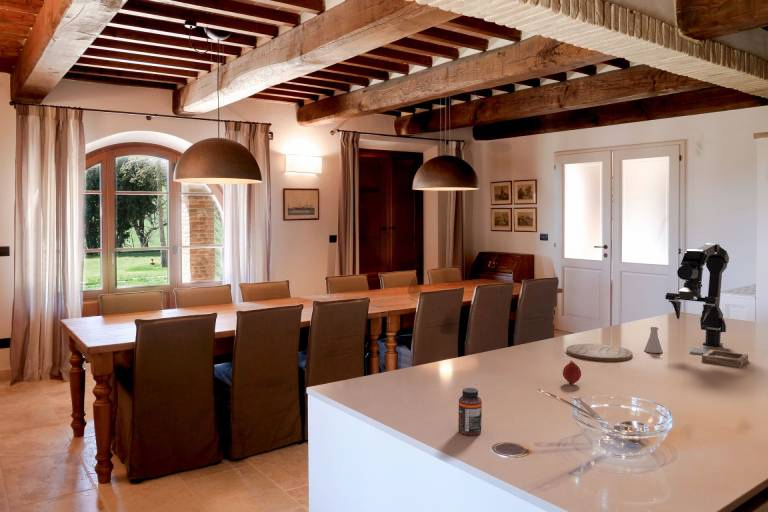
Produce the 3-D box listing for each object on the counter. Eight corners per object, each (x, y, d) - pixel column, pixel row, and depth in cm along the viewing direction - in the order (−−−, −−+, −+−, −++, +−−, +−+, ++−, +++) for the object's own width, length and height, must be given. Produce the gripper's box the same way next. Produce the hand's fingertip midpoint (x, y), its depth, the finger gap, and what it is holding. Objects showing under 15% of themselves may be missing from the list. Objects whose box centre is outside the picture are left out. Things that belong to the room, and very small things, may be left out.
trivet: (562, 359, 244) (563, 354, 244) (569, 346, 267) (569, 341, 267) (632, 365, 234) (632, 360, 234) (632, 351, 257) (632, 346, 257)
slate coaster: (691, 349, 259) (692, 347, 259) (716, 351, 255) (716, 350, 255) (689, 353, 252) (690, 351, 251) (715, 356, 247) (715, 354, 247)
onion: (581, 382, 210) (581, 359, 209) (580, 387, 204) (581, 363, 203) (562, 381, 211) (563, 357, 211) (561, 385, 206) (562, 361, 205)
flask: (659, 350, 258) (660, 326, 258) (665, 354, 251) (666, 329, 250) (641, 349, 259) (642, 325, 258) (646, 353, 252) (647, 328, 251)
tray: (710, 355, 248) (710, 349, 248) (747, 361, 240) (748, 354, 240) (701, 361, 238) (702, 355, 238) (740, 367, 230) (740, 360, 230)
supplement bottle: (456, 428, 166) (456, 386, 165) (478, 427, 166) (478, 386, 165) (460, 436, 160) (461, 393, 159) (483, 436, 160) (484, 392, 159)
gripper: (661, 278, 249) (658, 317, 249) (712, 282, 236) (708, 323, 235) (672, 279, 257) (668, 317, 257) (721, 283, 244) (718, 323, 243)
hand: (690, 320), depth 248 cm, fingers open, 9 cm apart
